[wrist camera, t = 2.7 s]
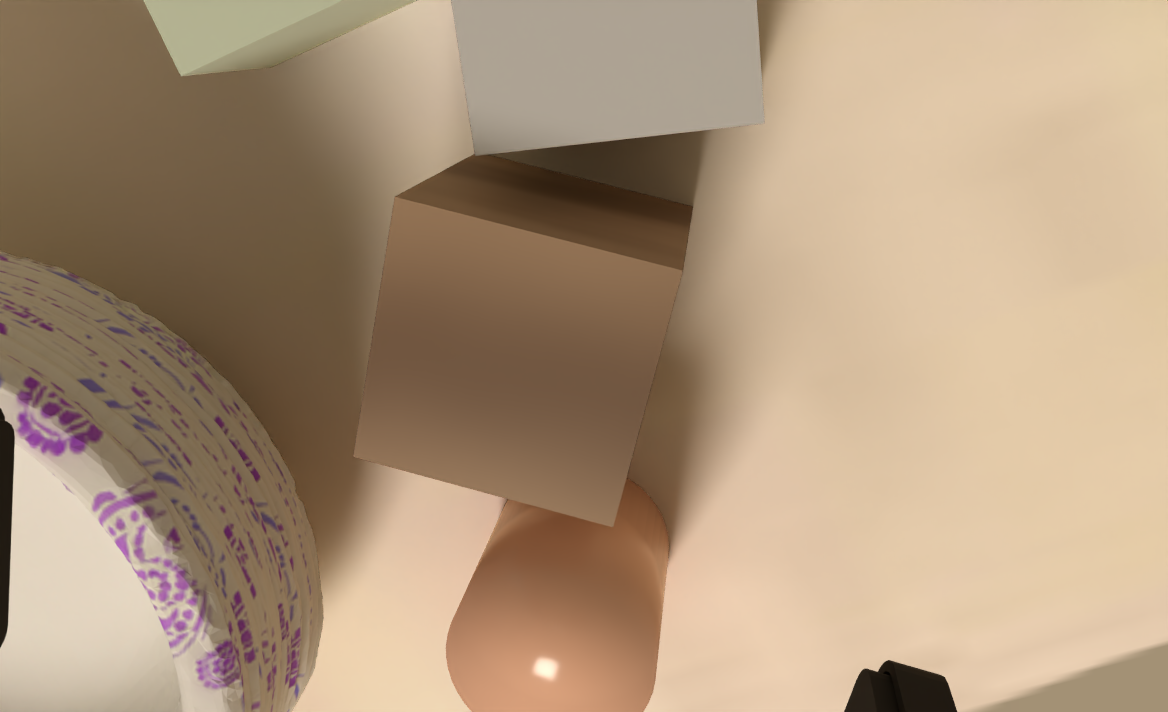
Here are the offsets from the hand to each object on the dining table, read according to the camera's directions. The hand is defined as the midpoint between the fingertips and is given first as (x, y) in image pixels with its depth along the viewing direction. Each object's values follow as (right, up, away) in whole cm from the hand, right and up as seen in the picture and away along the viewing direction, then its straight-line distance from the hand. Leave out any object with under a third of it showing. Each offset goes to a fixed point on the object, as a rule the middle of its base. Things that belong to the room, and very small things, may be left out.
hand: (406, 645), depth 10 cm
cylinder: (+2, -2, +15) cm, 15 cm away
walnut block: (+1, +5, +12) cm, 13 cm away
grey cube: (+3, +11, +10) cm, 15 cm away
